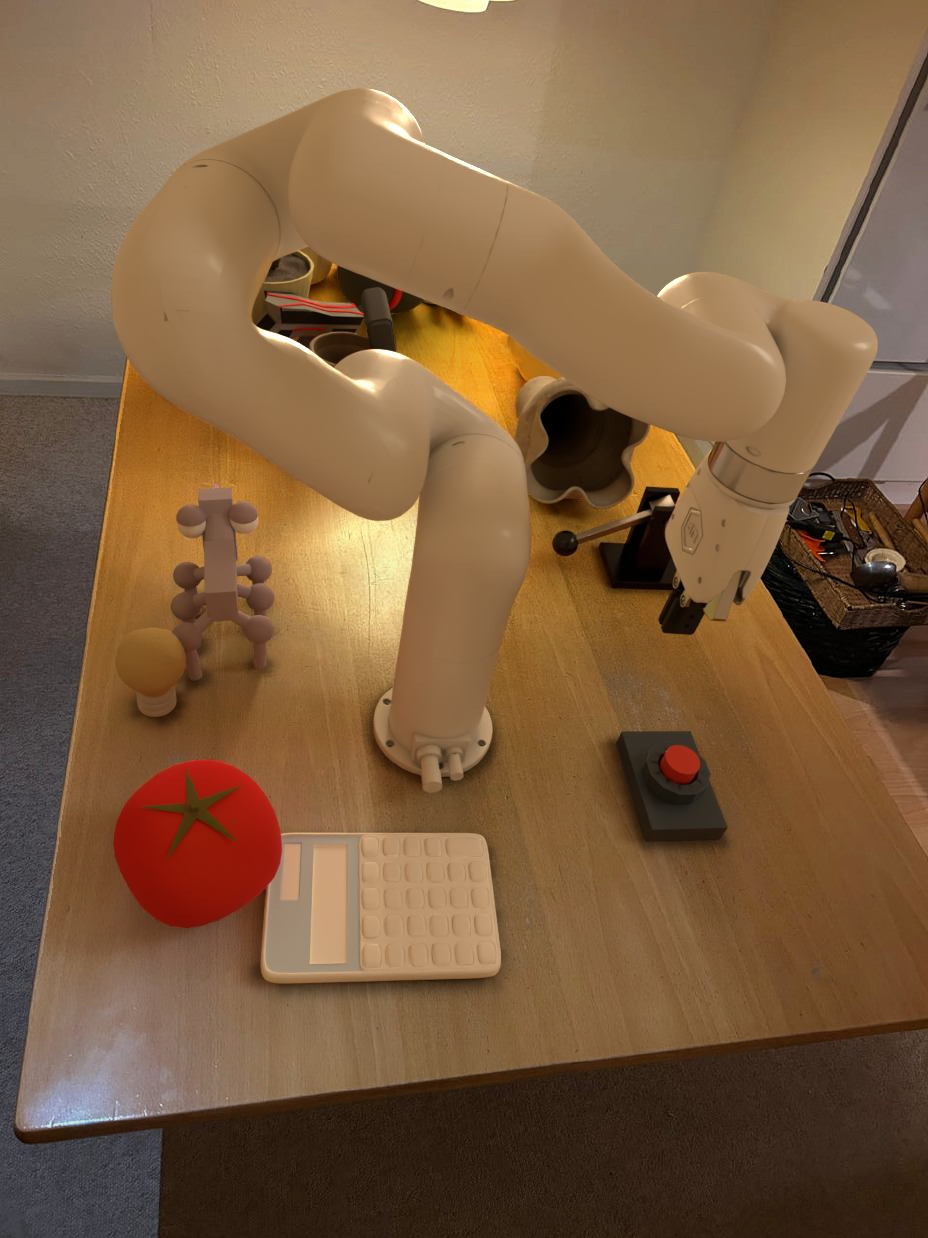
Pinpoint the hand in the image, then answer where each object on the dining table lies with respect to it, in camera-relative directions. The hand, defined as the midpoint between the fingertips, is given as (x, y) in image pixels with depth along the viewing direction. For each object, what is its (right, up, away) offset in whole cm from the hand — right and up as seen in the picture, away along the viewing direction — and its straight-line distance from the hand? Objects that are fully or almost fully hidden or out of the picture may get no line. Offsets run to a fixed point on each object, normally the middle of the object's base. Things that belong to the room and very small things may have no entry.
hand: (675, 627), depth 80 cm
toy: (-27, +68, +79) cm, 108 cm away
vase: (-6, +24, +51) cm, 56 cm away
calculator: (-27, -25, -4) cm, 37 cm away
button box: (+2, -17, +10) cm, 20 cm away
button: (+2, -14, +7) cm, 16 cm away
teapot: (-6, +42, +68) cm, 80 cm away
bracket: (+4, +8, +36) cm, 37 cm away
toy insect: (-47, +1, +18) cm, 50 cm away
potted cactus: (-53, +45, +61) cm, 92 cm away
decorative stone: (-28, +66, +87) cm, 112 cm away
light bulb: (-51, -8, +8) cm, 52 cm away
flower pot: (-38, +33, +53) cm, 73 cm away
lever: (0, +11, +31) cm, 33 cm away
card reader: (-32, +38, +58) cm, 77 cm away
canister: (-52, +66, +83) cm, 119 cm away
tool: (-50, +39, +58) cm, 86 cm away
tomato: (-43, -22, -4) cm, 48 cm away
